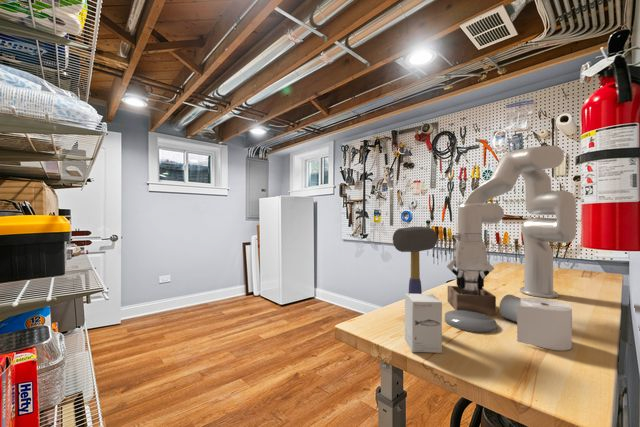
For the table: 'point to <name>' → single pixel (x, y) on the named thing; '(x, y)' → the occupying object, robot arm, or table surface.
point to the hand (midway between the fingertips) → (469, 287)
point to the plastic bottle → (470, 281)
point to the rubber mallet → (414, 250)
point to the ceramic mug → (509, 307)
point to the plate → (470, 321)
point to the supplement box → (423, 323)
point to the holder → (472, 301)
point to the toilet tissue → (544, 323)
